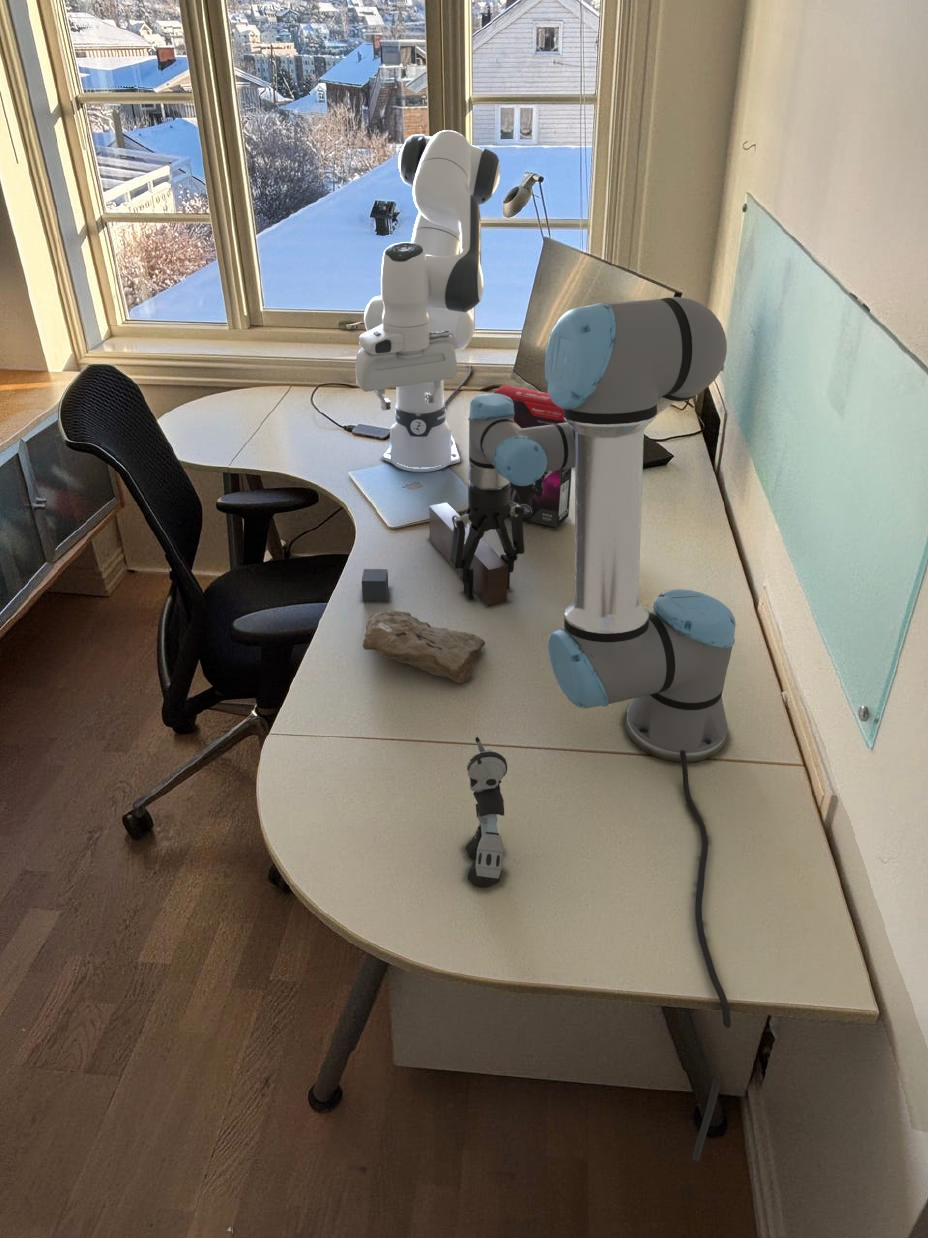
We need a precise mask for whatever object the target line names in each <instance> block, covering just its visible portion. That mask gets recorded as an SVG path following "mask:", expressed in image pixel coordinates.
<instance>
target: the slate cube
mask: <svg viewBox="0 0 928 1238" xmlns="http://www.w3.org/2000/svg"><path fill="white" fill-rule="evenodd" d="M361 595H362V602H380V603H381V602H387V601H388V596H389V570H388V568H363V571H362V578H361Z"/></svg>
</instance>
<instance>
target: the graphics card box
mask: <svg viewBox="0 0 928 1238" xmlns="http://www.w3.org/2000/svg"><path fill="white" fill-rule="evenodd" d="M493 393H496V394H502V395H505V396H508V397H509V398H511V399H512V401H513V403H514V412H515V415H514V422H515V423H516V424H517V425H519V426H520V427H521V428H530V427H537V426H545V425H552V424H559V423H566V421H565V420H564V418H563V409H562V408H560V407H558V406H556V405H555V404H554V403H553V401H552V400H551V398H550V396H549V393H548V392H545V391H539V390H536V389H535V390H534V389H530V388H523V387H518V386H513V385H510V384H503V385H501V386H500V387H498V388H497V389H496V390H494V391H493ZM572 470H573V468H567V469H561V470H555V471H549V472H544V474H543V475H542V477H541V478H540V479H538V480H536V481H535V482H533V483H532V484H531V485H527V486H517V485H514V484H512V483H511V482H510V484H511V488H510V502H509V504H510V505H513V504H514V503H516V502H517V503H518V504H520V505H521V506H522V507H523V508H524V509H525V511H524V515H523V519H522V520H525V521H529V522H532V523H536V524H540V525H545V526H548V527H553V528H559V527H560V526H561V525H562V523H563V522H564V521H565V520H566V519H568V518H569V514H570V499H571V487H572ZM507 517H511V515H510V513H509V514H508V516H507Z"/></svg>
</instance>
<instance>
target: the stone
mask: <svg viewBox="0 0 928 1238" xmlns="http://www.w3.org/2000/svg"><path fill="white" fill-rule="evenodd" d="M366 623H367V624H366V625H365V629H366V632H365V634H364V638H363V642H362V648H363V649H364V650H365V651H368V650H370V651H377V652H379V653H380V654H382V656H383V657H384V658H386V659H388V660H389V659H390V660H395V661H396V662H397V663H403V664H408V665H410V666H413V667H415V668H417V669H420V670H421V671H426V672H427V673H429V674H431V675H433V676H437V677H446V678H449V679H450V680H452V681H453V682H454V683H459V684H464V683H467V681H468V680H469V679H470V676H471V675H472V672H473V670H474V669H473V668H474V667H473V666H474V664H475V662H476V661H477V658H478V656H479V654H480V653H481V651H482V648H483V647H484V646H485V645H486V641H485V640H484V639H483V638H481V637H480V636H477V635H476V634H474V633H470V632H465V631H464V632H463V631H457V630H451V629H448V628H446V627H434V626H431V625H430V623H428V622H426V621H421V620H420V619H419V618H418V617H416V616H413V615H412V613H410V612H405V611H400V610H387V609H386V610H382V611H380V612H377V613H376V614H374V615H373V616H371V617H369V618H368V620H367V622H366Z"/></svg>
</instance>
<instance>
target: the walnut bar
mask: <svg viewBox="0 0 928 1238" xmlns="http://www.w3.org/2000/svg"><path fill="white" fill-rule="evenodd" d="M454 515H457V516H458V517H459V516H461V515H460V514H459V513H458V512H457V510H455V509H454V508H453V507H452V506H451V505H450V504H449V503H448V502H447V501H446V502H442V503H437V504H432V505H428V520H429V521H428V524H429V541H430V542H431V543H432V545H433V546H434V547H435V548H436V549H437V550H438V551H439V553H440V554H441V555H442V556H443V558H445V559H446V560H447V562H448V563H449V564H450V565H451V566H452V567H453V569H454V570H455V571H456V572H457V573H458V575H459V574H460V568H459V569H456V568H455V567H454V566H453V565H452V564H451V562H450V554H451V546H452V538H453V530H454V525H453V521H452V517H453V516H454ZM469 527H470V524H468V523H467V528H465V539H464V545H465V542H466V540H467V537H468V534H469V531H470V530H469ZM463 548H464V547H463ZM470 566H471V567H472V568H473V569H474V570H473V592H474V593H475V594H476V595H477V596H478V597H479V599H480V600H481V601H482V602H483V603H484V604H485V605H486V606H487V607H492V606H497V605H501V604H505V603H507V602H508V590H507V588H508V564H507V563H506V562H505V561H504V560H503V559H502V558H501V555H499V554H498V553H497V552H496V551H495V550H494V549H493V548H492V547H491V546H490V545H489V544H488V543H487V542H486V541H485V540H484V538H483V537H482V538H481V539H480V541H479V544H478V547H477V549H476V552H475V555H474V557H473V560H472V562H471V565H470Z"/></svg>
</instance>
